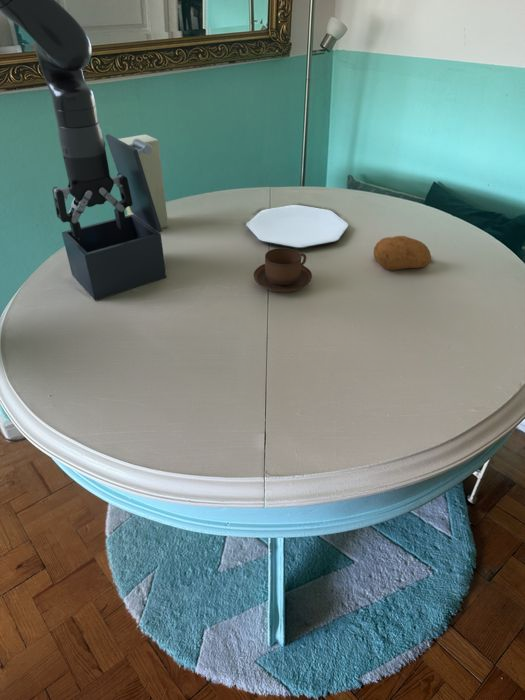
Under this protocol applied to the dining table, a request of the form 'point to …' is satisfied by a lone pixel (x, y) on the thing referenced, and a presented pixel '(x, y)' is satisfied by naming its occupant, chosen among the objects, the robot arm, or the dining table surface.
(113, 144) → the freezer lid
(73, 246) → the box
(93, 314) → the dining table surface
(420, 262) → the potato
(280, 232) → the plate
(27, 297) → the dining table surface
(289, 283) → the cup and saucer
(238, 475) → the dining table surface
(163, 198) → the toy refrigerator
